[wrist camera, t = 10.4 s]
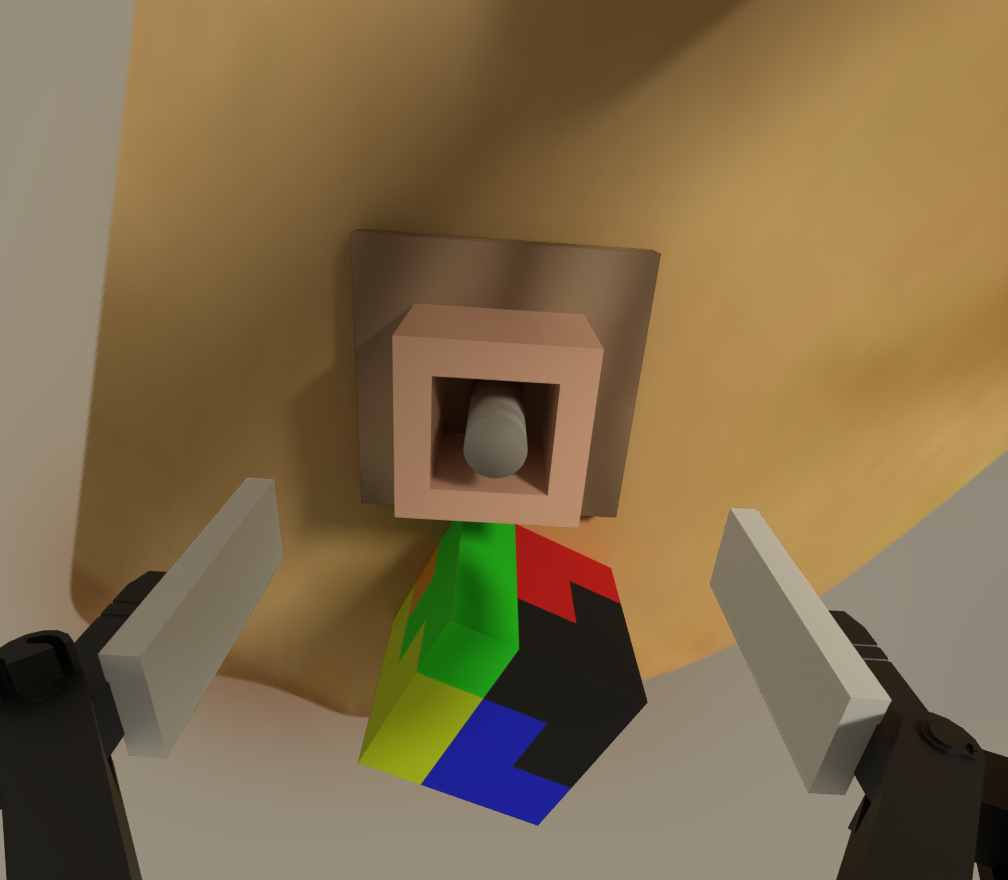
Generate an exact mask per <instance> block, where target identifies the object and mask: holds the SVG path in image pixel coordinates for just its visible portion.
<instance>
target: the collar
mask: <svg viewBox="0 0 1008 880" xmlns="http://www.w3.org/2000/svg"><path fill="white" fill-rule="evenodd" d="M392 347H393V426H394V504H395V517H399V518H417V519H435V520H452V521H470V522H488V523H506V524H523V525H541V526H559V527H577V528H579V522H580V515H581V508H582V501H583V494H584V487H585V480H586V473H587V465H588V458H589V451H590V444H591V437H592V430H593V423H594V416H595V409H596V402H597V394H598V387H599V380H600V373H601V366H602V359H603V352H604V348H603V347H602V345H601V343H600V341H599V340H598V338H597V336H596V335H595V333H594V331H593V329H592V328H591V326H590V324H589V322H588V321H587V319H586V317H585V315H583V314H568V313H553V312H538V311H523V310H508V309H493V308H478V307H463V306H448V305H433V304H418V303H414V305H413V306H412V308H411V309H410V311H409V312H408V313H407V315H406V316H405V318H404V319H403V321H402V322H401V324H400V325H399V326H398V328H397V329H396V331H395V332H394V334H393V335H392ZM445 377H456V378H471V379H487V380H503V381H519V382H535V383H545V392H544V402H543V412H542V422H541V431H540V438H536V437H527V457H526V460H525V462H524V464H523V465H522V466H521V468H520V469H519V470H518V471H516V472H515V473H513V474H512V475H510V476H507V477H503V478H488V477H484V476H482V475H480V474H478V473H476V472H475V471H474V470H473V469H472V468H471V467H470V466H469V465H468V463H467V461H466V459H465V456H464V441H465V434H466V433H453V432H443V424H444V385H445Z"/></svg>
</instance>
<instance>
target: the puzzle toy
mask: <svg viewBox="0 0 1008 880" xmlns="http://www.w3.org/2000/svg"><path fill="white" fill-rule="evenodd" d="M646 704H647V698H646V695H645V691H644V687H643V684H642V680H641V676H640V673H639V669H638V665H637V662H636V658H635V654H634V651H633V647H632V643H631V640H630V636H629V632H628V629H627V625H626V621H625V618H624V614H623V610H622V607H621V603H620V599H619V596H618V592H617V588H616V585H615V581H614V577H613V574H612V570H611V568H610V567H607V566H605V565H603V564H601V563H599V562H597V561H594V560H592V559H590V558H588V557H586V556H584V555H582V554H579V553H577V552H575V551H573V550H571V549H569V548H566V547H564V546H562V545H560V544H558V543H556V542H554V541H551V540H549V539H547V538H545V537H543V536H541V535H538V534H536V533H534V532H532V531H530V530H528V529H526V528H523V527H521V526H519V525H517V524H506V523H488V522H470V521H452V522H451V524H450V526H449V527H448V529H447V531H446V532H445V534H444V536H443V537H442V539H441V541H440V542H439V544H438V546H437V547H436V549H435V551H434V553H433V554H432V556H431V558H430V559H429V561H428V563H427V564H426V566H425V568H424V569H423V571H422V573H421V574H420V576H419V578H418V579H417V581H416V583H415V584H414V586H413V588H412V590H411V591H410V593H409V595H408V596H407V598H406V600H405V601H404V603H403V605H402V606H401V608H400V610H399V611H398V613H397V615H396V616H395V618H394V620H393V624H392V628H391V632H390V636H389V640H388V644H387V648H386V652H385V656H384V660H383V664H382V668H381V672H380V676H379V680H378V685H377V689H376V693H375V697H374V701H373V705H372V709H371V713H370V717H369V721H368V725H367V729H366V733H365V737H364V741H363V746H362V749H361V753H360V757H359V761H358V763H361V764H363V765H366V766H369V767H372V768H375V769H378V770H381V771H383V772H386V773H389V774H392V775H395V776H398V777H401V778H403V779H406V780H409V781H412V782H415V783H417V784H420V785H424V786H426V787H429V788H432V789H435V790H438V791H440V792H443V793H446V794H449V795H452V796H455V797H457V798H460V799H463V800H466V801H469V802H472V803H475V804H477V805H480V806H483V807H486V808H489V809H492V810H495V811H498V812H500V813H503V814H506V815H509V816H512V817H515V818H517V819H521V820H524V821H526V822H529V823H532V824H535V825H539V824H540V823H541V821H542V820H543V819H544V818H545V817H546V816H547V815H548V814H549V813H550V811H551V810H552V809H553V808H554V807H555V806H556V805H557V804H558V802H559V801H560V800H561V799H562V798H563V797H564V796H565V795H566V793H567V792H568V791H569V790H570V789H571V788H572V787H573V786H574V784H575V783H576V782H577V781H578V780H579V779H580V778H581V777H582V775H583V774H584V773H585V772H586V771H587V770H588V769H589V768H590V767H591V765H592V764H593V763H594V762H595V761H596V760H597V759H598V758H599V756H600V755H601V754H602V753H603V752H604V751H605V749H607V747H608V746H609V745H610V744H611V743H612V742H613V741H614V740H615V738H616V737H617V736H618V735H619V734H620V733H621V732H622V731H623V729H624V728H625V727H626V726H627V725H628V724H629V723H630V722H631V721H632V719H633V718H634V717H635V716H636V715H637V714H638V713H639V712H640V710H641V709H642V708H643V707H644V706H645V705H646Z"/></svg>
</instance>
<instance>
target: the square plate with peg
mask: <svg viewBox="0 0 1008 880" xmlns="http://www.w3.org/2000/svg"><path fill="white" fill-rule="evenodd" d="M660 256H661V254H660V253H658V252H656V251H654V250H646V249H632V248H618V247H603V246H589V245H575V244H560V243H546V242H531V241H517V240H503V239H488V238H474V237H460V236H445V235H431V234H416V233H402V232H388V231H373V230H359V229H358V230H355V231H353V232H351V257H352V282H353V307H354V331H355V356H356V381H357V406H358V431H359V456H360V480H361V503H370V504H388V505H395V504H394V426H393V347H392V335H393V334H394V332H395V331H396V329H397V328H398V326H399V325H400V324H401V322H402V321H403V319H404V318H405V316H406V315H407V313H408V312H409V311H410V309H411V308H412V306H413V305H414V303H418V304H433V305H448V306H463V307H478V308H493V309H508V310H523V311H538V312H553V313H568V314H583V315H585V317H586V319H587V321H588V322H589V324H590V326H591V328H592V329H593V331H594V333H595V335H596V336H597V338H598V340H599V341H600V343H601V345H602V347H603V348H604V352H603V359H602V366H601V373H600V380H599V387H598V394H597V402H596V409H595V416H594V423H593V430H592V437H591V444H590V451H589V458H588V465H587V473H586V480H585V487H584V494H583V501H582V508H581V515H582V516H599V517H616V515H617V509H618V503H619V497H620V491H621V485H622V479H623V473H624V468H625V462H626V456H627V450H628V444H629V438H630V432H631V426H632V421H633V415H634V409H635V403H636V397H637V391H638V385H639V379H640V374H641V368H642V362H643V356H644V350H645V344H646V338H647V332H648V327H649V321H650V315H651V309H652V303H653V297H654V291H655V285H656V280H657V274H658V268H659V262H660ZM544 392H545V383H535V382H519V381H503V380H487V379H471V378H456V377H445V385H444V424H443V432H453V433H466V434H465V441H464V456H465V459H466V461H467V463H468V465H469V466H470V467H471V468H472V469H473V470H474V471H475V472H476V473H478V474H480V475H482V476H484V477H488V478H503V477H507V476H510V475H512V474H513V473H515V472H516V471H518V470H519V469H520V468H521V466H522V465H523V464H524V462H525V460H526V457H527V437H536V438H540V431H541V422H542V412H543V402H544Z"/></svg>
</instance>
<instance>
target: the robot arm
mask: <svg viewBox="0 0 1008 880" xmlns="http://www.w3.org/2000/svg"><path fill="white" fill-rule="evenodd" d="M282 559H283V551H282V542H281V534H280V525H279V517H278V508H277V499H276V491H275V482H274V479H264V478H248V477H247V478H246V479H245V481H244V482H243V483H242V484H241V485H240V486H239V488H238V489H237V490H236V491H235V492H234V494H233V495H232V496H231V497H230V498H229V499H228V501H227V502H226V503H225V504H224V505H223V507H222V508H221V509H220V510H219V511H218V513H217V514H216V515H215V516H214V517H213V518H212V520H211V521H210V522H209V523H208V524H207V526H206V527H205V528H204V529H203V530H202V531H201V533H200V534H199V535H198V536H197V537H196V539H195V540H194V541H193V542H192V543H191V545H190V546H189V547H188V548H187V549H186V550H185V552H184V553H183V554H182V555H181V556H180V558H179V559H178V560H177V561H176V562H175V563H174V565H173V566H172V567H171V568H170V569H169V571H168V572H159V571H148V572H147V573H145V574H144V575H142V576H140V577H139V578H137V579H136V580H134V581H132V582H131V583H129V584H128V585H127V586H126V587H125V588H124V589H123V590H122V591H121V592H120V594H119V595H118V596H117V597H116V598H115V599H114V600H113V603H112V604H109V606H108V607H107V608H106V609H105V610H104V611H103V612H102V613H101V617H98V618H97V619H96V620H95V621H94V622H93V623H92V624H91V625H90V626H89V627H88V629H87V630H86V631H85V632H84V633H83V634H82V635H81V636H80V637H79V638H78V640H77V641H76V642H75V643H74V642H73V640H72V639H71V637H70V636H69V634H67V633H64V632H61V631H58V630H46V631H39V632H35V633H31V634H27V635H24V636H22V637H19V638H17V639H15V640H12V641H10V642H8V643H7V644H5V645H4V646H2V647H1V648H0V810H1V809H2V817H3V831H4V847H5V861H6V877H7V880H142V877H141V873H140V869H139V865H138V861H137V857H136V853H135V849H134V844H133V841H132V836H131V832H130V829H129V824H128V820H127V816H126V812H125V808H124V804H123V800H122V796H121V791H120V788H119V784H118V780H117V775H116V771H115V767H114V763H113V760H112V757H111V754H112V752H113V751H114V749H115V748H116V746H117V745H118V743H119V742H120V740H121V739H122V737H124V740H125V743H126V747H127V750H128V753H129V756H142V757H159V758H168V756H169V754H170V753H171V751H172V749H173V748H174V746H175V744H176V742H177V741H178V739H179V737H180V735H181V734H182V732H183V730H184V729H185V727H186V725H187V723H188V722H189V720H190V718H191V717H192V715H193V713H194V711H195V710H196V708H197V706H198V704H199V703H200V701H201V699H202V698H203V696H204V694H205V692H206V691H207V689H208V687H209V685H210V684H211V682H212V680H213V678H214V677H215V675H216V673H217V672H218V670H219V668H220V666H221V665H222V663H223V661H224V660H225V658H226V656H227V654H228V653H229V651H230V649H231V648H232V646H233V644H234V642H235V641H236V639H237V637H238V635H239V634H240V632H241V630H242V629H243V627H244V625H245V623H246V622H247V620H248V618H249V616H250V615H251V613H252V611H253V610H254V608H255V606H256V604H257V603H258V601H259V599H260V597H261V596H262V594H263V592H264V591H265V589H266V587H267V585H268V584H269V582H270V580H271V578H272V577H273V575H274V573H275V572H276V570H277V568H278V566H279V565H280V563H281V561H282ZM710 586H711V588H712V590H713V592H714V594H715V596H716V598H717V600H718V603H719V605H720V607H721V609H722V611H723V613H724V615H725V617H726V620H727V622H728V624H729V626H730V628H731V630H732V632H733V634H734V637H735V639H736V641H737V643H738V645H739V647H740V649H741V651H742V653H743V656H744V658H745V660H746V662H747V664H748V666H749V668H750V670H751V673H752V675H753V676H754V679H755V681H756V683H757V685H758V687H759V689H760V692H761V694H762V696H763V698H764V700H765V702H766V704H767V706H768V708H769V711H770V713H771V715H772V717H773V719H774V721H775V723H776V726H777V728H778V730H779V732H780V734H781V736H782V738H783V740H784V742H785V744H786V747H787V749H788V751H789V753H790V755H791V757H792V759H793V761H794V764H795V765H796V768H797V770H798V772H799V774H800V776H801V778H802V781H803V783H804V785H805V787H806V789H807V791H808V793H819V794H838V795H845V794H846V792H847V790H848V788H849V786H850V784H851V782H852V779H853V778H854V775H855V776H856V778H857V780H858V782H859V784H860V785H861V787H862V789H863V791H864V793H865V796H864V797H863V799H862V801H861V803H860V805H859V807H858V809H857V811H856V813H855V815H854V817H853V819H852V821H851V823H850V825H849V827H848V828H849V829H850V830H852V831H851V834H850V838H849V841H848V844H847V847H846V850H845V854H844V857H843V860H842V863H841V866H840V869H839V873H838V876H837V879H836V880H972V878H973V869H974V862H976V863H977V867H978V872H979V876H980V880H1008V757H1005V756H1002V755H998V754H995V753H992V752H989V751H986V750H983V749H981V747H980V746H979V744H978V743H977V742H976V740H975V739H974V738H973V737H972V736H971V735H970V734H968V733H967V732H966V731H965V730H964V729H963V728H962V727H960V726H958V725H957V724H955V723H954V722H952V721H950V720H949V719H947V718H945V717H942V716H939V715H937V714H934V713H931V712H928V710H927V709H926V708H925V707H924V705H923V704H922V702H921V701H920V700H919V698H918V697H917V696H916V694H915V693H914V692H913V691H912V689H911V688H910V687H909V685H908V684H907V683H906V681H905V680H904V679H903V677H902V676H901V675H900V673H899V672H898V671H897V669H896V668H895V667H894V666H893V665H892V663H891V662H888V658H887V656H886V655H885V654H884V652H883V651H882V650H881V649H880V648H878V647H877V643H876V642H875V641H874V639H873V638H872V637H871V635H870V634H869V633H868V631H867V630H866V629H865V627H863V626H862V625H861V624H860V623H858V622H857V621H856V620H854V619H853V618H852V617H851V616H850V615H848V614H847V613H846V612H844V611H830V610H827V608H826V607H825V605H824V604H823V603H822V601H821V600H820V598H819V597H818V596H817V594H816V593H815V591H814V590H813V589H812V587H811V586H810V584H809V583H808V581H807V580H806V579H805V577H804V576H803V574H802V573H801V572H800V570H799V569H798V567H797V566H796V565H795V563H794V562H793V560H792V559H791V557H790V556H789V555H788V553H787V552H786V550H785V549H784V548H783V546H782V545H781V543H780V542H779V541H778V539H777V538H776V536H775V535H774V534H773V532H772V531H771V529H770V528H769V526H768V525H767V524H766V522H765V521H764V519H763V518H762V517H761V515H760V514H759V512H758V511H757V510H755V509H739V508H730V511H729V515H728V518H727V522H726V526H725V529H724V533H723V537H722V540H721V544H720V548H719V551H718V555H717V559H716V563H715V566H714V570H713V574H712V577H711V581H710Z"/></svg>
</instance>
